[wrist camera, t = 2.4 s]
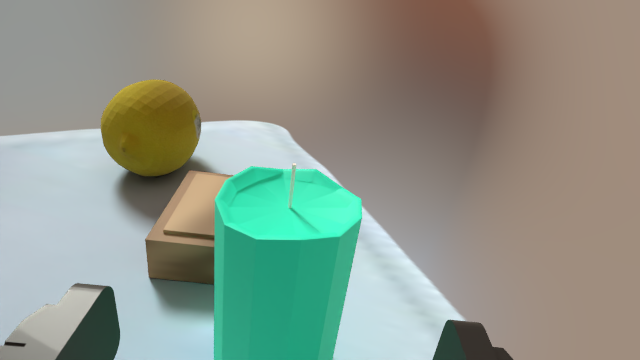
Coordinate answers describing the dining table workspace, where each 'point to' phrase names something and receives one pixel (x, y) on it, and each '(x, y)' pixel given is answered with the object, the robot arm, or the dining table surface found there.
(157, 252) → the stand
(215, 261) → the candle
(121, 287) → the dining table surface
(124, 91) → the lemon
